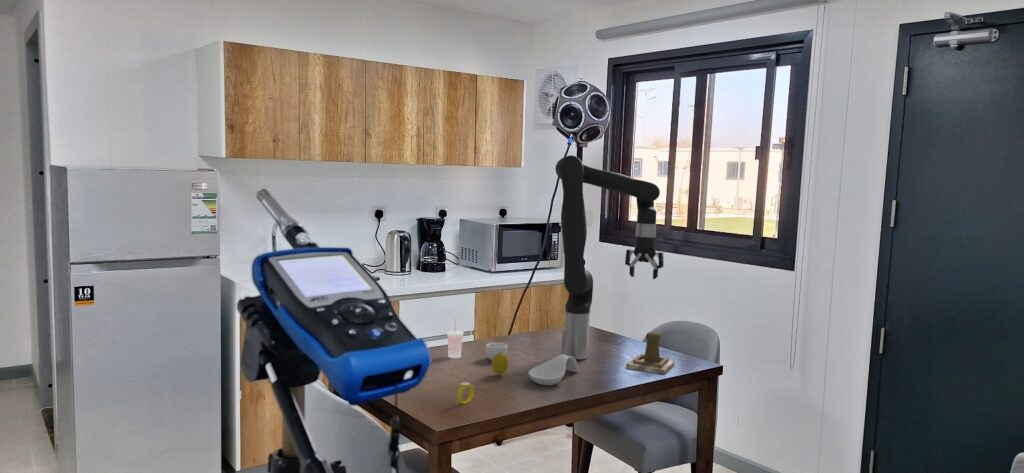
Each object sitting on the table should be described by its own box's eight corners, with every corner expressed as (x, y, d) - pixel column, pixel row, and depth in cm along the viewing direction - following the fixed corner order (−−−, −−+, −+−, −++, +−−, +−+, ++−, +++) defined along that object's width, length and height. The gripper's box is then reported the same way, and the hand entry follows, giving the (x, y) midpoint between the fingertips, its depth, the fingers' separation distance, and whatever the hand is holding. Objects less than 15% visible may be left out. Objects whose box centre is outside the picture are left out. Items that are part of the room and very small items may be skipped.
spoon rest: (551, 391, 222) (552, 369, 221) (521, 384, 228) (521, 362, 227) (587, 374, 241) (588, 354, 240) (557, 368, 248) (558, 348, 247)
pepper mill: (659, 365, 250) (661, 335, 248) (642, 363, 251) (644, 333, 250) (660, 361, 255) (662, 331, 254) (644, 359, 257) (645, 330, 256)
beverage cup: (464, 358, 256) (466, 320, 255) (448, 359, 254) (449, 321, 252) (459, 353, 262) (461, 317, 260) (444, 354, 259) (445, 317, 258)
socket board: (626, 367, 250) (626, 360, 250) (637, 359, 263) (637, 352, 263) (664, 374, 244) (665, 366, 244) (674, 364, 257) (674, 357, 257)
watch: (462, 407, 204) (462, 387, 203) (455, 405, 206) (455, 385, 205) (475, 400, 209) (475, 381, 208) (468, 398, 211) (468, 379, 210)
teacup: (498, 363, 250) (498, 349, 250) (481, 359, 255) (481, 345, 254) (514, 358, 258) (515, 344, 258) (497, 354, 263) (498, 340, 262)
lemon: (496, 378, 232) (496, 355, 231) (488, 374, 237) (489, 351, 236) (510, 376, 235) (511, 353, 234) (503, 372, 240) (504, 349, 239)
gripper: (624, 234, 264) (622, 277, 266) (661, 237, 258) (659, 281, 259) (630, 233, 271) (628, 274, 272) (666, 236, 265) (664, 278, 266)
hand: (643, 277), depth 266 cm, fingers open, 8 cm apart
